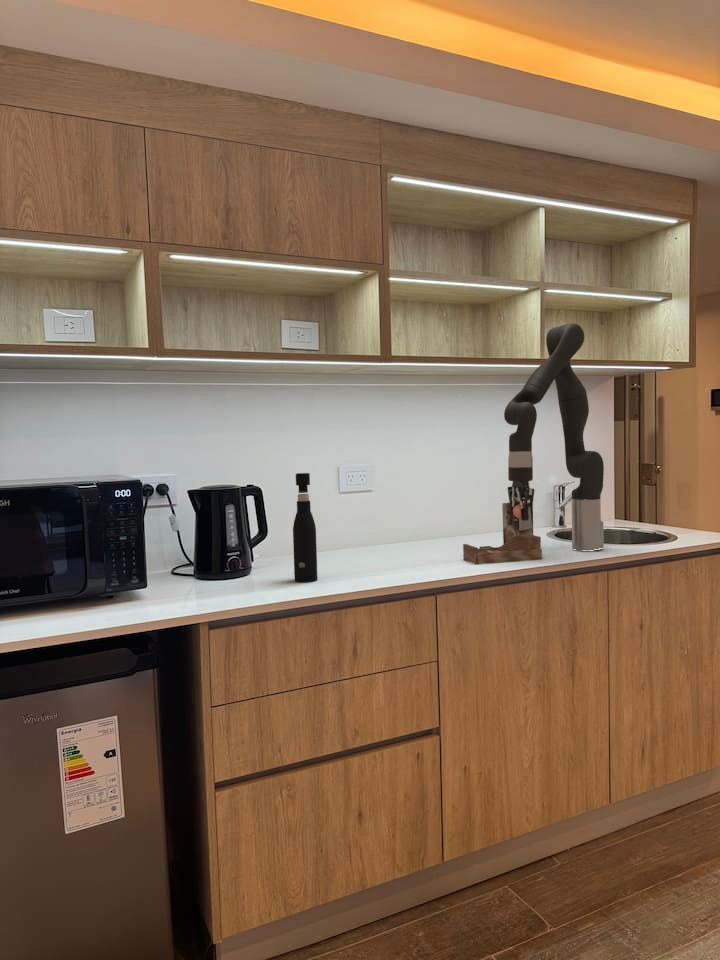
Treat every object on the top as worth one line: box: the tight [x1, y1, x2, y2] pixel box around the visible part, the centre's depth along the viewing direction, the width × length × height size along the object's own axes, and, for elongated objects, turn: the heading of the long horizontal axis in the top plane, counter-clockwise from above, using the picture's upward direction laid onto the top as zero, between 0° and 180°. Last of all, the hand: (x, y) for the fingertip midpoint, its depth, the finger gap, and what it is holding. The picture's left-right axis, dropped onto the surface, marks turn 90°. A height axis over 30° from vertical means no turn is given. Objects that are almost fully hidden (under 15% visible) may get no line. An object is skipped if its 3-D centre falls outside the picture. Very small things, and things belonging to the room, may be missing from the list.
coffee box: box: [501, 501, 534, 545], centre depth 232 cm, size 9×6×16 cm
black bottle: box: [292, 472, 319, 584], centre depth 188 cm, size 6×6×30 cm
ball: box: [513, 504, 521, 519], centre depth 214 cm, size 5×5×5 cm
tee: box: [479, 545, 494, 549], centre depth 224 cm, size 4×4×2 cm
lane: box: [462, 534, 543, 565], centre depth 213 cm, size 22×9×7 cm, turn 104°
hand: (520, 519), depth 214 cm, fingers closed on ball, 4 cm apart
